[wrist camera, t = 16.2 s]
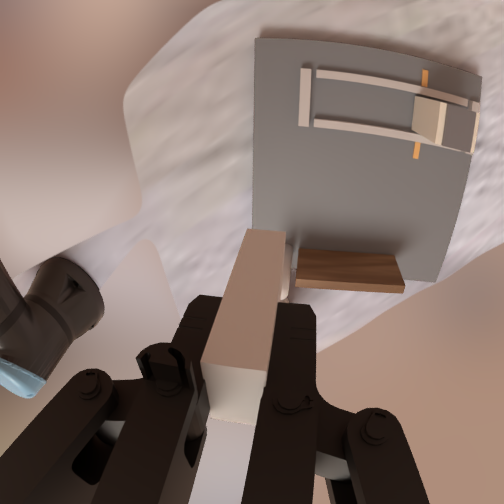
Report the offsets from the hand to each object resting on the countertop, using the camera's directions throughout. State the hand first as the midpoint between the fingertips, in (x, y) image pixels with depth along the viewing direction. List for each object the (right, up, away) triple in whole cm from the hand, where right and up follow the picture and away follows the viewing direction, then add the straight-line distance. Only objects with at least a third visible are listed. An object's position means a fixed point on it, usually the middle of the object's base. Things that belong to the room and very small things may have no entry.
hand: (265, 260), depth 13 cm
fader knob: (+17, +14, +13) cm, 26 cm away
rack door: (+11, -1, +23) cm, 26 cm away
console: (+12, +10, +19) cm, 25 cm away
